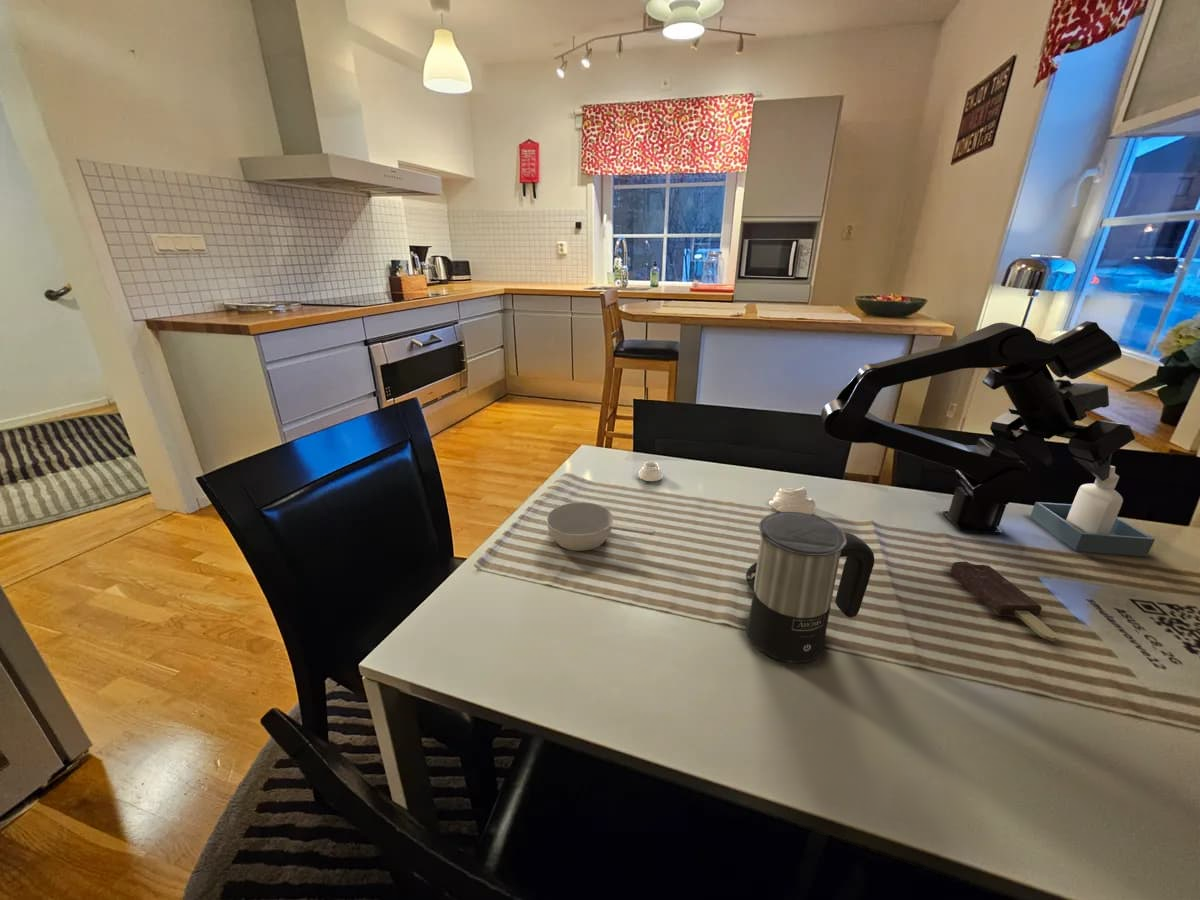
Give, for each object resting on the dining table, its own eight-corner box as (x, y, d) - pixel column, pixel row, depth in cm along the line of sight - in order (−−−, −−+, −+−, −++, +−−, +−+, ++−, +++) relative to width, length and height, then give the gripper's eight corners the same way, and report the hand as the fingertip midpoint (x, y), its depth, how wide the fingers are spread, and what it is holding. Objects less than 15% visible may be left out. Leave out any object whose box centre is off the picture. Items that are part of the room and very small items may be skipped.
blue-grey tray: (1075, 550, 78) (1082, 533, 77) (1029, 517, 88) (1035, 501, 87) (1147, 556, 76) (1155, 539, 75) (1092, 521, 87) (1099, 506, 85)
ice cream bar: (1072, 644, 59) (980, 570, 73) (1077, 633, 58) (983, 560, 72) (1029, 644, 59) (945, 570, 73) (1034, 633, 58) (948, 561, 72)
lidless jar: (662, 473, 105) (638, 472, 105) (662, 460, 104) (639, 459, 104) (662, 483, 100) (638, 482, 101) (663, 470, 99) (638, 468, 100)
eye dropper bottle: (1073, 537, 80) (1101, 470, 76) (1061, 521, 85) (1087, 458, 81) (1108, 543, 79) (1139, 475, 74) (1094, 527, 83) (1122, 462, 79)
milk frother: (784, 676, 54) (806, 562, 49) (695, 595, 67) (704, 497, 62) (868, 634, 60) (896, 529, 55) (772, 567, 73) (786, 477, 68)
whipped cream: (774, 521, 88) (777, 498, 85) (762, 501, 94) (764, 479, 91) (819, 518, 88) (823, 495, 85) (803, 498, 94) (807, 476, 91)
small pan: (565, 515, 87) (564, 496, 86) (662, 536, 81) (664, 515, 80) (535, 545, 78) (534, 524, 77) (643, 571, 72) (644, 549, 70)
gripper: (1149, 366, 66) (1191, 455, 69) (1027, 360, 84) (1065, 430, 88) (1075, 416, 68) (1119, 501, 71) (971, 399, 86) (1010, 467, 89)
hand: (1075, 471), depth 79 cm, fingers open, 9 cm apart
